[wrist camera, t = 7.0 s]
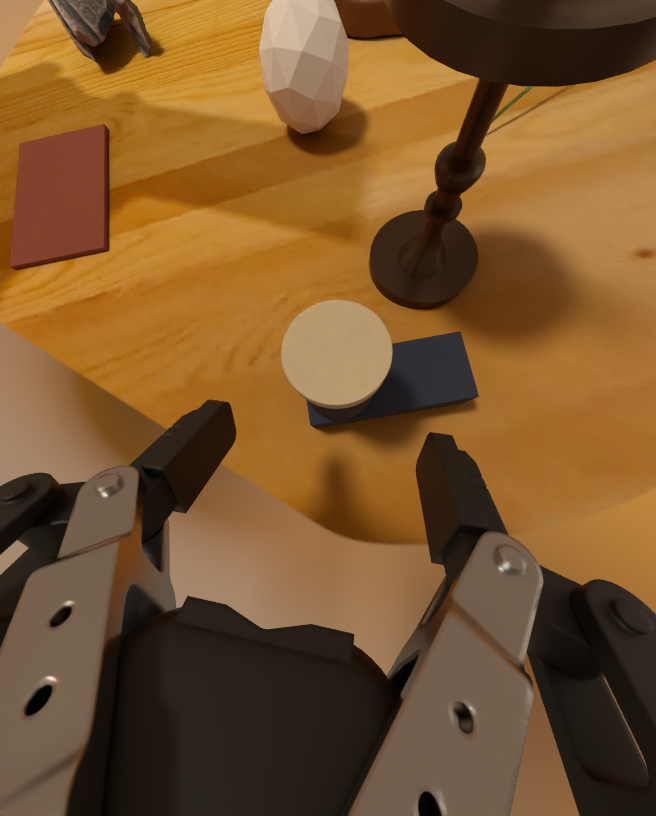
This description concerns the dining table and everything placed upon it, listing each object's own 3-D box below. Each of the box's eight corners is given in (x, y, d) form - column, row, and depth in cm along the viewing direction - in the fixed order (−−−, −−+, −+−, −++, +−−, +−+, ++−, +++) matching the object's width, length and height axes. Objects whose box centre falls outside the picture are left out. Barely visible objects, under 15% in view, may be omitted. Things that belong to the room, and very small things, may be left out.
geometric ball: (299, 165, 28) (233, 95, 21) (318, 79, 26) (252, -25, 20) (350, 144, 23) (284, 47, 17) (377, 37, 21) (315, -114, 15)
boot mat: (107, 250, 24) (103, 247, 24) (14, 269, 24) (9, 266, 24) (107, 128, 27) (104, 123, 26) (24, 147, 27) (19, 143, 27)
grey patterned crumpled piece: (103, 40, 24) (-26, -80, 22) (137, 120, 31) (41, 35, 28) (159, -1, 26) (44, -118, 23) (180, 84, 32) (92, 0, 30)
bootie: (313, 429, 20) (288, 414, 11) (304, 370, 20) (274, 310, 12) (462, 404, 19) (564, 366, 10) (446, 344, 20) (526, 261, 11)
